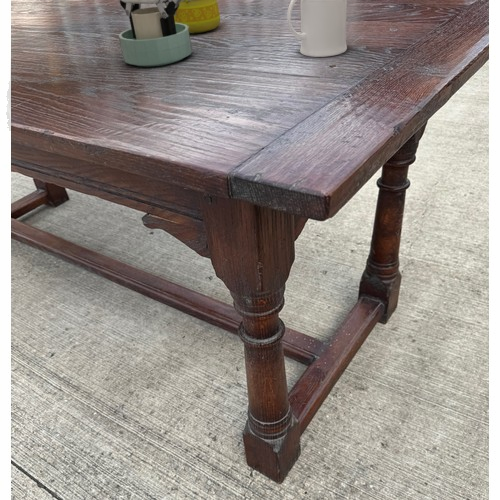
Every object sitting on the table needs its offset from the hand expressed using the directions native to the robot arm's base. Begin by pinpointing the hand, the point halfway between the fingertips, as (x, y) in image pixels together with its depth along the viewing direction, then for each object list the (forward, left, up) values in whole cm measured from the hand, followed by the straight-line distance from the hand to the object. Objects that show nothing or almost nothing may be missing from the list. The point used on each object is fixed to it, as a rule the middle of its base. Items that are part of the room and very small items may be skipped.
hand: (155, 37), depth 97 cm
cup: (0, 0, -3) cm, 3 cm away
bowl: (0, 0, -4) cm, 4 cm away
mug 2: (+12, -28, -4) cm, 31 cm away
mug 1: (+20, +7, -4) cm, 21 cm away
